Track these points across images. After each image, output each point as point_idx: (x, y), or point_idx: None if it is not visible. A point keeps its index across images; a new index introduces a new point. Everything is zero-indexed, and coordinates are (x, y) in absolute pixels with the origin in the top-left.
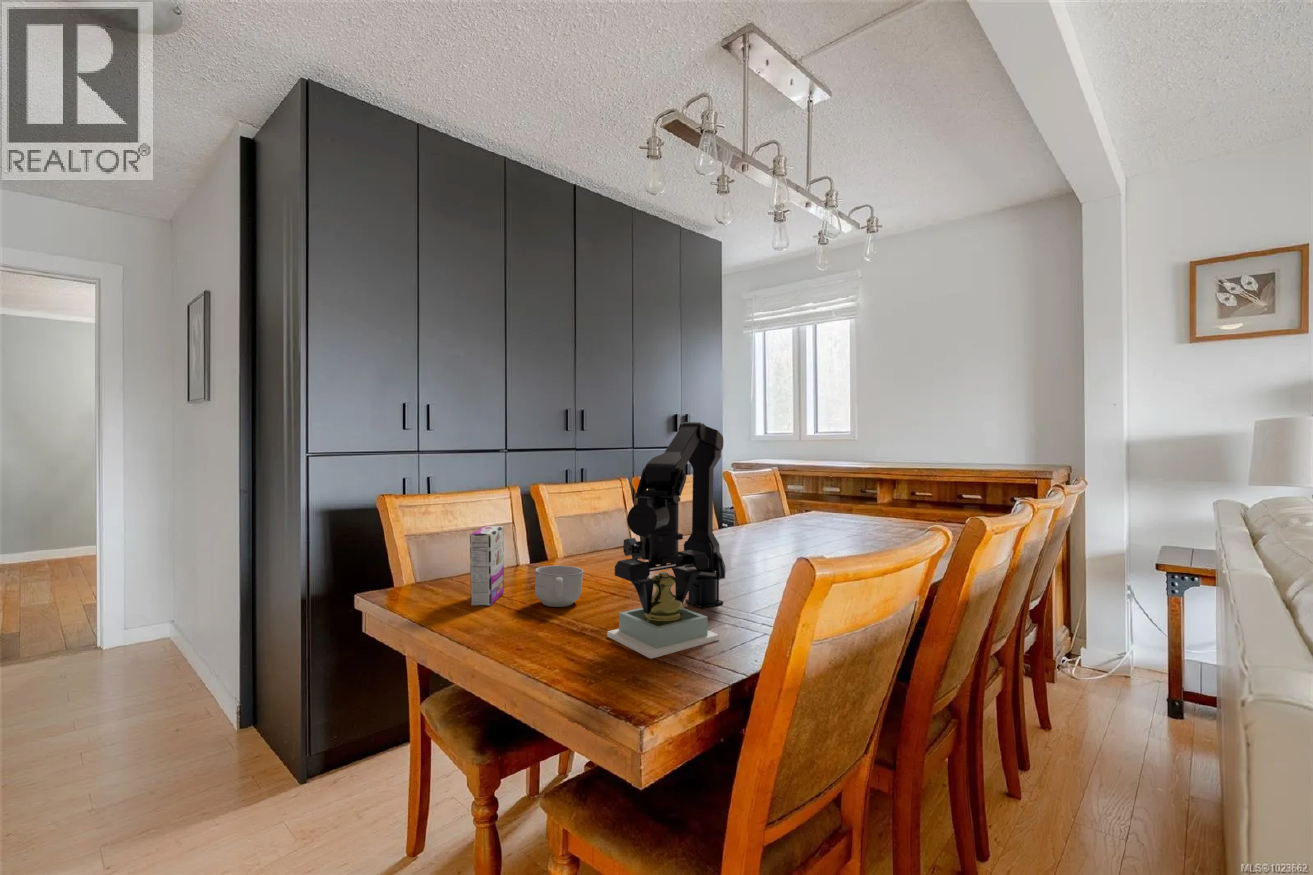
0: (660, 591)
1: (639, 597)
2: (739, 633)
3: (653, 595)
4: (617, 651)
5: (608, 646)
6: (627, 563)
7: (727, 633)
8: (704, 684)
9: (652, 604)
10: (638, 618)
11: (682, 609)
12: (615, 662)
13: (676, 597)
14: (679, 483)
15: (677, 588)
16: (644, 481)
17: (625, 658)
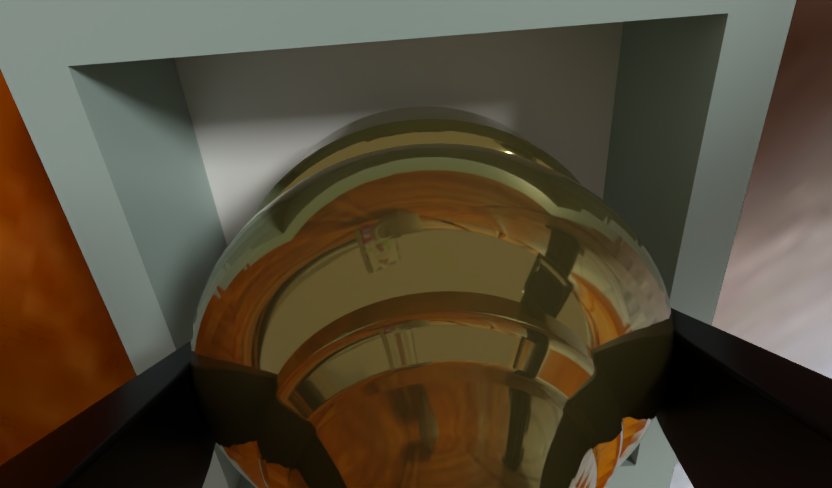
0: None
1: (7, 473)
2: (819, 361)
3: (289, 451)
4: (55, 271)
5: (8, 170)
6: None
7: (776, 334)
8: None
9: (237, 464)
10: (150, 302)
11: (682, 275)
12: (14, 385)
13: (685, 365)
14: None
15: (796, 472)
16: None
17: (80, 367)
